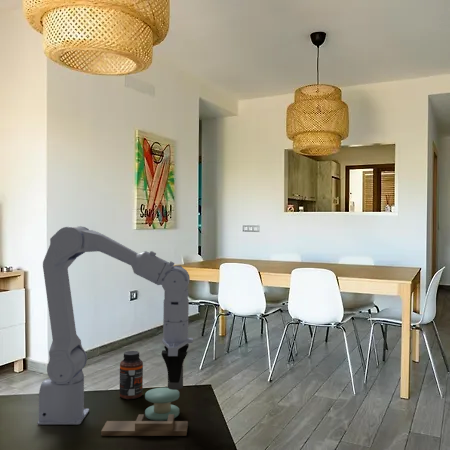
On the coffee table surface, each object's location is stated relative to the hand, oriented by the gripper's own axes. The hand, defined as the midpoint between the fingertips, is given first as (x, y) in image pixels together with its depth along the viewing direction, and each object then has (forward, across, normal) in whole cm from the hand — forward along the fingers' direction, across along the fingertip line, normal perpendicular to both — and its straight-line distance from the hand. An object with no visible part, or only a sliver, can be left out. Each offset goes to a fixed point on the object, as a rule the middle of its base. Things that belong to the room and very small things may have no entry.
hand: (175, 379), depth 108 cm
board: (+9, -6, +6) cm, 12 cm away
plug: (+2, 0, 0) cm, 2 cm away
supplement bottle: (+10, +15, +13) cm, 22 cm away
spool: (+9, +3, +3) cm, 10 cm away
